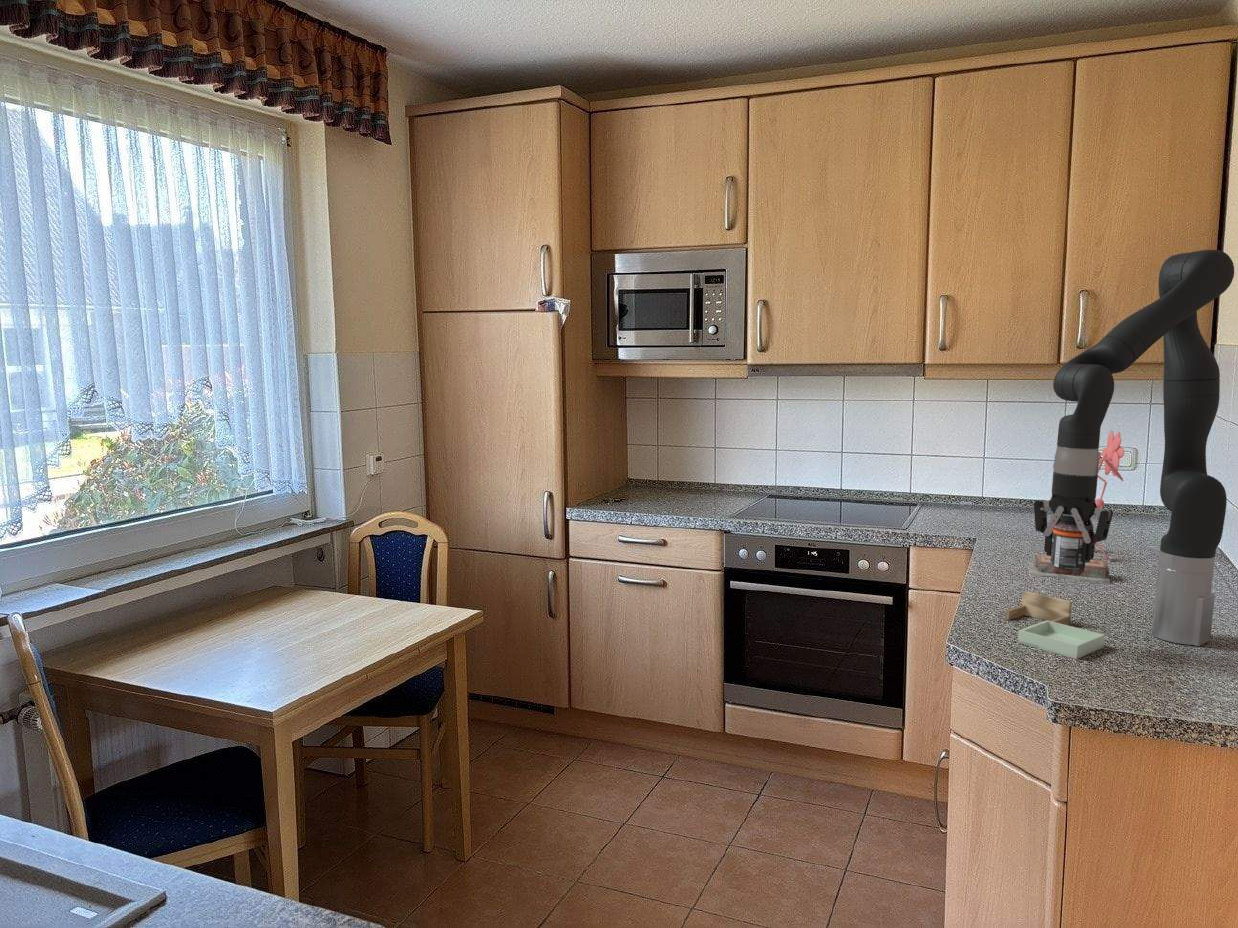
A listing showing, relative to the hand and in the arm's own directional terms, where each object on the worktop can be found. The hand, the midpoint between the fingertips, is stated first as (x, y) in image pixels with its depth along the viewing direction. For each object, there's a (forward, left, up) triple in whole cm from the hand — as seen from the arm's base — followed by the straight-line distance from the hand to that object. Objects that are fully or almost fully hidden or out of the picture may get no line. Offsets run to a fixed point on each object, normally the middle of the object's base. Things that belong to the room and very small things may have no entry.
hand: (1067, 558), depth 172 cm
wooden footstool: (+10, -10, -17) cm, 22 cm away
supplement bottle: (0, 0, -3) cm, 3 cm away
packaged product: (+25, -57, -18) cm, 65 cm away
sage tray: (0, 0, -17) cm, 17 cm away
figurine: (+29, -87, -17) cm, 93 cm away
